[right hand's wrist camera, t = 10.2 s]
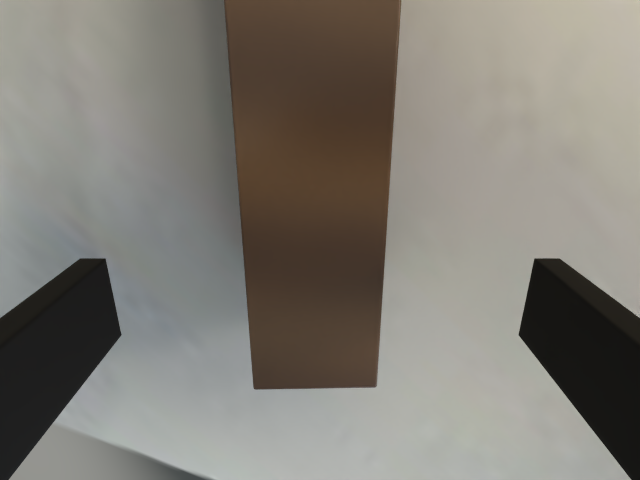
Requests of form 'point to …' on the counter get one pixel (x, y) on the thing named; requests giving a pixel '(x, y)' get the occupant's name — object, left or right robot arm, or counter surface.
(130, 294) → the counter surface
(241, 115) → the post
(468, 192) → the counter surface
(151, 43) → the counter surface
